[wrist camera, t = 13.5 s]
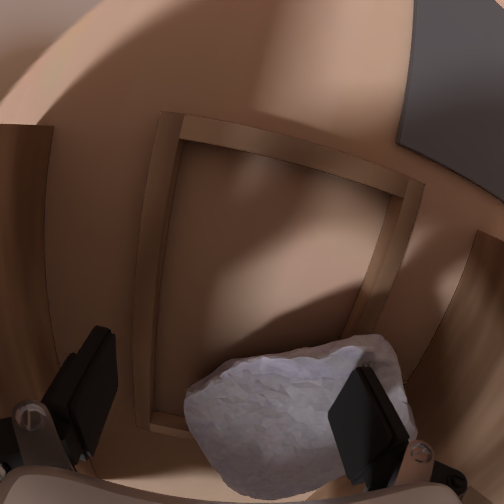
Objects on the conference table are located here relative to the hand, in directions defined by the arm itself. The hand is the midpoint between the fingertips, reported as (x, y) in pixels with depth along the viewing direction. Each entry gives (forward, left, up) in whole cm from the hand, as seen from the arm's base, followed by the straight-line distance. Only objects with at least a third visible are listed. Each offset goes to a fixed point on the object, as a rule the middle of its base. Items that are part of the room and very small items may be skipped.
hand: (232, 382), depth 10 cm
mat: (-11, -18, -5) cm, 22 cm away
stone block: (-2, 0, -4) cm, 4 cm away
